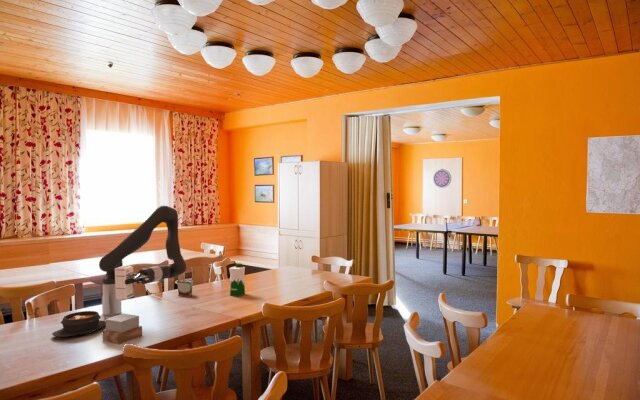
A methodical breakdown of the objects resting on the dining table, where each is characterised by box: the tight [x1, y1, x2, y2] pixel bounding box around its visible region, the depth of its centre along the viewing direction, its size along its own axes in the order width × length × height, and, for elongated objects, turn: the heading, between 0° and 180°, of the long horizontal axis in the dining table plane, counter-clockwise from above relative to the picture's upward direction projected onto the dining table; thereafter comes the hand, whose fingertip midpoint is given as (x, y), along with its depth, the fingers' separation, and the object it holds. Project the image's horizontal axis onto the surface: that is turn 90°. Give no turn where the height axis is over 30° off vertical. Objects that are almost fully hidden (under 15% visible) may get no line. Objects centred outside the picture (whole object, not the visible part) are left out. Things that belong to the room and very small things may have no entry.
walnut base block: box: [102, 325, 143, 345], centre depth 196 cm, size 12×12×5 cm
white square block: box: [105, 313, 140, 333], centre depth 196 cm, size 10×10×5 cm
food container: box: [176, 278, 195, 298], centre depth 277 cm, size 12×6×10 cm, turn 65°
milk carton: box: [228, 262, 246, 297], centre depth 276 cm, size 9×9×20 cm
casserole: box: [51, 310, 106, 338], centre depth 205 cm, size 25×19×8 cm
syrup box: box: [115, 265, 135, 300], centre depth 196 cm, size 6×6×14 cm
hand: (120, 281), depth 194 cm, fingers closed on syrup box, 7 cm apart
